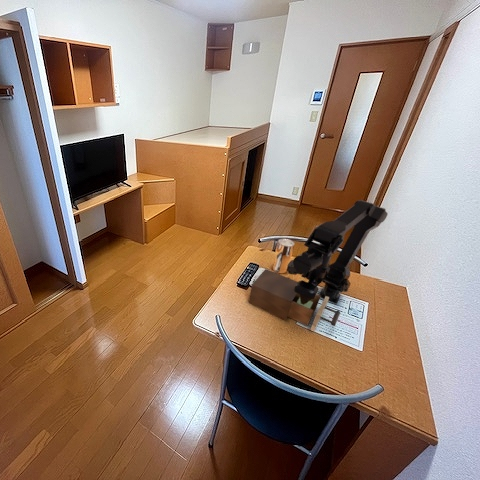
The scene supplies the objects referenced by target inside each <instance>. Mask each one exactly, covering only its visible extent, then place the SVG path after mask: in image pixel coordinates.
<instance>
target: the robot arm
mask: <svg viewBox="0 0 480 480" xmlns="http://www.w3.org/2000/svg"><path fill="white" fill-rule="evenodd" d="M387 217H388V212H387V211H386V208H384V207H381V206H377V205H376V204H374V203H372V202H369V201H366V200H362V199H360V200H358V199H357V200H356V201H355V202H354V204H353V205H352V206H351V207H350V208H348V209H347V210H346V211H345V212H343V213H342V214H341V215H339V216H338V217H337V218H335V219H334V220H330V221H329V220H328V221H325V222H323V223H321V224H319V225H318V226H316V227H315V228H314V229H313V231H312V232H311V234H309V237H308V238H307V239H306V242H304V245H303V246H305V247H307V250H305V251H302V253H300V254H299V255H296V256H295V257H294V258H293V259H292V260H291V259H290V260H289V262H288V264H287V270H286V272H287V273H288V274H289V275H293V276H297V275H301V278H304V279H306V280H308V281H306V280H303V279H301V280H298V281H297V282H298V283H297V284H296V286H295V288H294V291H295V292H296V293H298V294H300V301H301V304H303V305H304V304H306V303H307V302H309V301H310V300H312V299H314V298H315V297H316V295H317V294H318V292H319V290H320V289H319V287H318V286H319V285H321V284H322V283H324V286H323V287H322V289H321V291H320V292H319V294H318V295H320V296H321V297H320V299H322V300H324V298H325V296H327V297H329V300H328V302H331V303H333V304H337V303H338V301H339V299H340V298H341V293H347V292H348V290H349V288H350V286H351V282H350V280H349V279H350V277H351V270H350V266H351V264H352V262H353V261H354V259H355V257H356V256H357V254H358V252H359V250H360V249H361V247H362V246H363V244H364V242H365V240H366V238H367V236H368V235H369V234H370V232H371V231H373V230H374V229H376V228H378V227H379V226H380V225H381V224H382V223H384V222H385V220H387ZM351 229H352V230H351ZM350 230H351V232H350V234H349V235H348V237H347V239H346V241H345V243H344V240H345V235H346V233H347V232H349V231H350ZM343 243H344V245H343V247H342V248H341V251H340V252H339V254H338V256H337V257H336V259H335V260H334V262H333V263H330V262H331V260H332V256H333V255H334V254H335V253H336V252H337V251H338V250H339V248H340V247H341V246H342V244H343Z"/></svg>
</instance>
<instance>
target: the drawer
mask: <svg viewBox="0 0 480 480" xmlns="http://www.w3.org/2000/svg"><path fill="white" fill-rule="evenodd" d="M299 298H300V294H298V293H297V295H296V296H295V298H294V299H293V301H292V302H291V306H290V309H289V312H288V315H287V316H288V317H287V318H290V319H292V320H293V321H296V322H298V323H300V324H301V325H304V326H306V327H307V326H309V324H310V322H311V320H312V318H313V316H314V314H315V312H316V310H317V308H318V305H319V302H320V300H321V296H320V295H319V294H318V293H317V295H316V297H315V298H314V299H312V300H310V301H312V302H313V304H312V307H311V309H310V308H307V307H305V306H303V305H301V304H298V303H296V302H297V301H298V299H299ZM322 300H323V301H321V304H320V306H319V308H318V310H317V312H316V314H315V317H314V320H313V322H312V324H311V327H310V331H312V332H315V330H316V329H317V326H318V324H319V322H320V320H322V321H325V322H327V323H329V324H330V325H331V326H333V327H335V326H336V325H337V322H338V320H339V317H340V315H341V311H340V310H335V309H333V308H330V307H327V305H328V302H329V301H328V300H329V297H327V296H325V298H324V299H322ZM325 310H327V311H329V312H332V313H334V314H333V316H332V319H331V320H330V319H328V318H325V317H323V314H324V312H325Z"/></svg>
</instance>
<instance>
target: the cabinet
mask: <svg viewBox="0 0 480 480" xmlns="http://www.w3.org/2000/svg"><path fill="white" fill-rule="evenodd" d="M297 283H298V281H297V280H295V279H292V278H289V277H287V276H285V275H283V274H281V273H277V272H275V271H272V270H270V269H267V268H265V269H264V270H263V271H262V272H261V273H260V274H259V275H258V277H257V278H256V279H255V280H254V281H253V282H252V284H251V287H250V293H249V297H248V304H251V305H252V306H255V307H256V308H259V309H261V310H263V311H264V312H267V313H269V314H271V315H273V316H275V317H277V318H279V319H280V320H283V321H287V320H288V318H289V317H288V316H287V315H288V312H289V309H290V306H291V302H292V301H293V299H294V298H295V296H296V295H297V293H296V292H295V291H294V288H295V286H296V284H297Z"/></svg>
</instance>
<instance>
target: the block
mask: <svg viewBox="0 0 480 480" xmlns="http://www.w3.org/2000/svg"><path fill="white" fill-rule="evenodd" d="M296 303H298V304H301V301H300V298H299V299H298V301H297V302H296ZM312 304H313V302H312V301H309V302H307V303H306V304H304V305H303V304H301V305H303V306H305V307H307V308H310V309H311V307H312Z"/></svg>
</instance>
